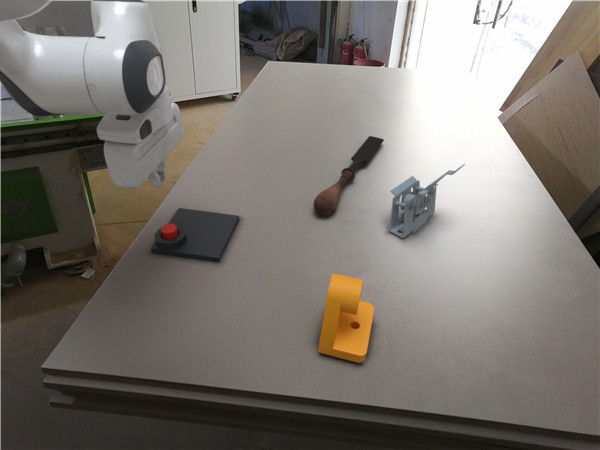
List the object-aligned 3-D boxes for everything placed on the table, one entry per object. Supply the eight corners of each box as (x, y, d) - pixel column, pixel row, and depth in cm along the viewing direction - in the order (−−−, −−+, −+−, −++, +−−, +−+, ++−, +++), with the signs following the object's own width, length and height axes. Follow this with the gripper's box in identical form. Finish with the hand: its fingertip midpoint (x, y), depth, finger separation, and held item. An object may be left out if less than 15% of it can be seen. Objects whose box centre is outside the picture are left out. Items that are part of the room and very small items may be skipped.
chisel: (308, 216, 92) (309, 198, 89) (368, 141, 123) (370, 126, 120) (328, 222, 90) (330, 204, 87) (384, 145, 121) (386, 130, 118)
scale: (219, 262, 79) (217, 251, 78) (152, 252, 81) (149, 241, 79) (239, 219, 90) (238, 209, 88) (179, 212, 92) (177, 201, 90)
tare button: (174, 240, 80) (172, 234, 79) (159, 238, 80) (158, 232, 79) (180, 231, 82) (179, 224, 81) (166, 229, 83) (164, 222, 82)
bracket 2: (417, 247, 85) (433, 187, 75) (378, 226, 90) (389, 167, 81) (446, 221, 92) (465, 164, 83) (409, 203, 97) (423, 147, 88)
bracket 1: (363, 367, 62) (374, 317, 55) (317, 355, 64) (323, 305, 56) (372, 314, 70) (384, 264, 63) (332, 304, 72) (338, 255, 64)
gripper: (153, 86, 73) (166, 154, 82) (89, 134, 58) (113, 212, 66) (186, 89, 73) (196, 157, 81) (130, 139, 57) (149, 217, 65)
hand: (158, 182), depth 74 cm, fingers closed
